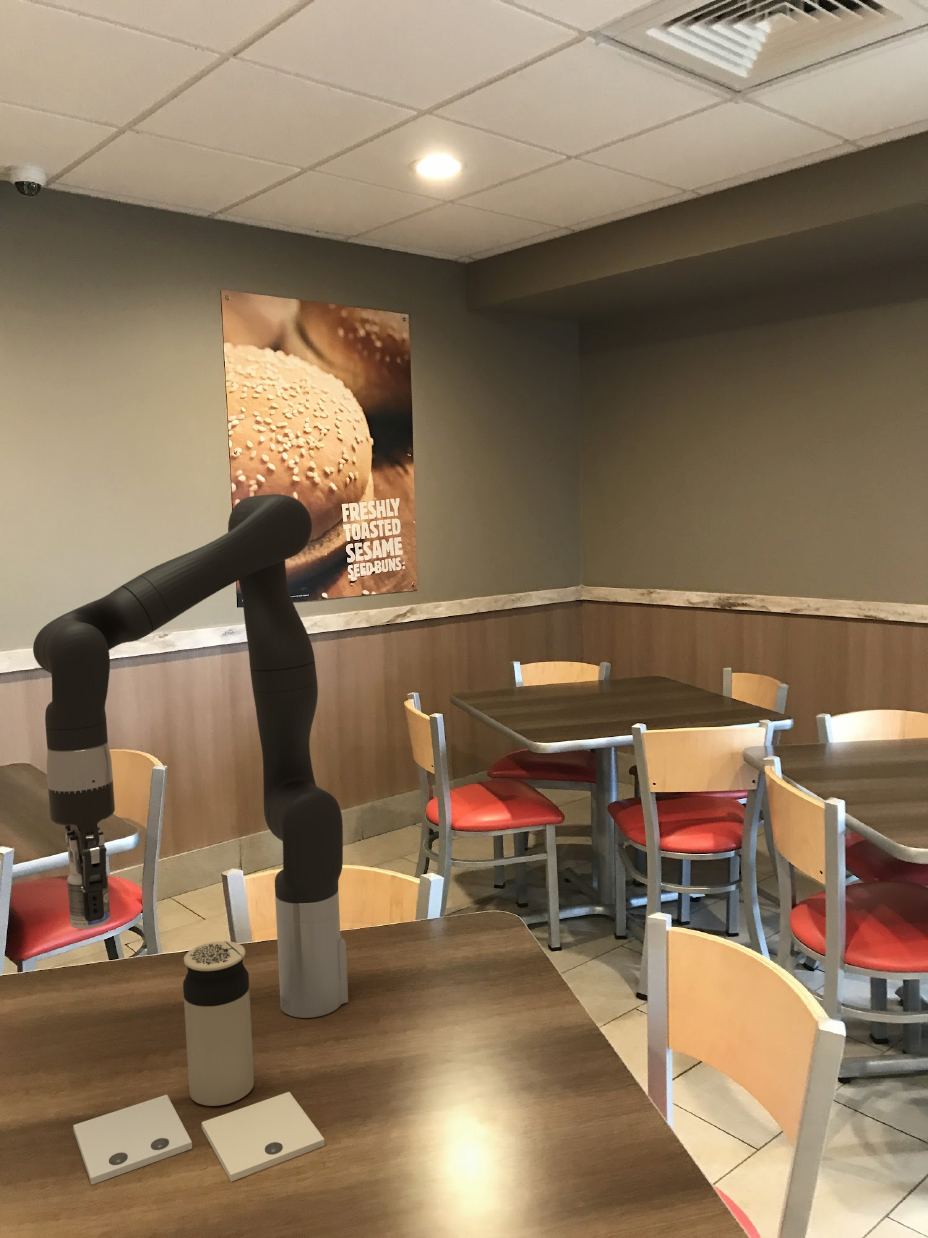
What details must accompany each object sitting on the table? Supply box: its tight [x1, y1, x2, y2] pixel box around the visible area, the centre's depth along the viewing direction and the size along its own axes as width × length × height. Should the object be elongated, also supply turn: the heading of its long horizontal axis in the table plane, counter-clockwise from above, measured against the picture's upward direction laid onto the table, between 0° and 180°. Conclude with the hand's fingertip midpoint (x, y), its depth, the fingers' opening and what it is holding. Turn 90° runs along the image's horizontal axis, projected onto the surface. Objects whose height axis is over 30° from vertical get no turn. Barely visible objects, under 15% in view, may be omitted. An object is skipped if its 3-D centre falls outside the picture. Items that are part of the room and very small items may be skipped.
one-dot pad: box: [201, 1091, 325, 1183], centre depth 112 cm, size 11×11×1 cm
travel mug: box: [182, 940, 255, 1107], centre depth 121 cm, size 8×8×18 cm
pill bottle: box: [66, 858, 111, 930], centre depth 121 cm, size 5×5×8 cm
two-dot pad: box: [72, 1094, 193, 1186], centre depth 112 cm, size 11×11×1 cm
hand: (90, 911), depth 121 cm, fingers closed on pill bottle, 4 cm apart
